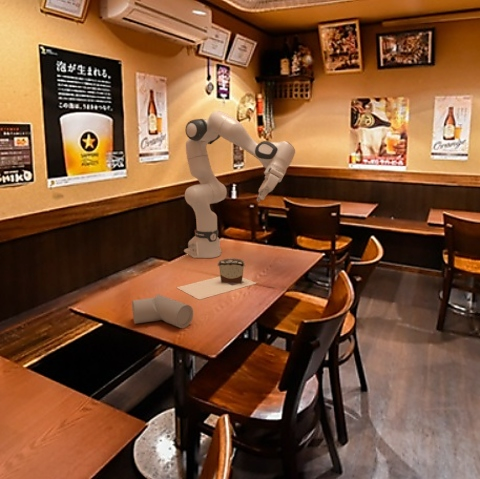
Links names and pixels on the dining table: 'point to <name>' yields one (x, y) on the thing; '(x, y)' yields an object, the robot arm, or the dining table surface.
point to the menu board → (212, 287)
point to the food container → (231, 270)
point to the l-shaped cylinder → (162, 311)
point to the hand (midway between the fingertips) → (259, 200)
